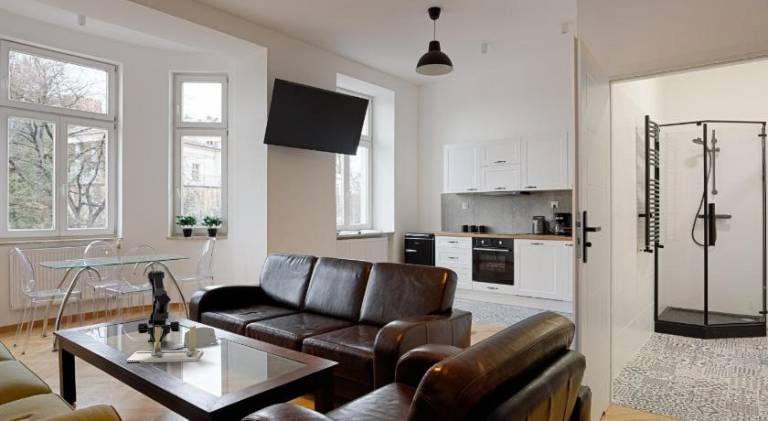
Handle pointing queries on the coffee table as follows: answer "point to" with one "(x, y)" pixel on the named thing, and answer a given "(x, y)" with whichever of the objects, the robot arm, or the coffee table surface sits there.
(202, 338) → the grey blocky piece
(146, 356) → the plate
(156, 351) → the leg
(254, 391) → the coffee table surface
